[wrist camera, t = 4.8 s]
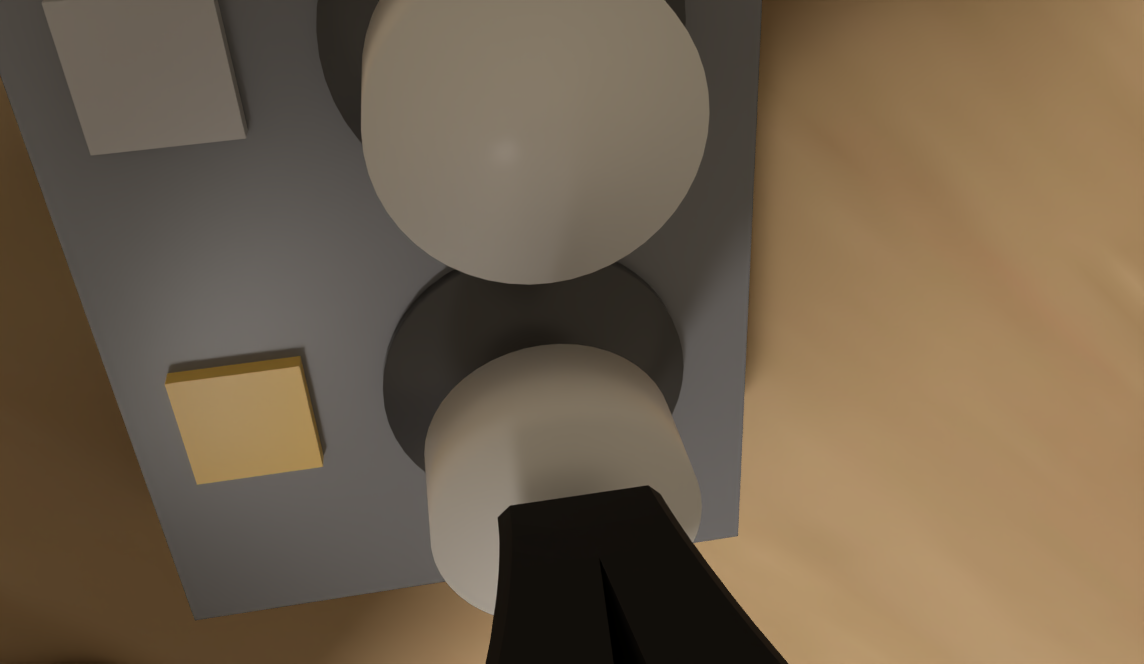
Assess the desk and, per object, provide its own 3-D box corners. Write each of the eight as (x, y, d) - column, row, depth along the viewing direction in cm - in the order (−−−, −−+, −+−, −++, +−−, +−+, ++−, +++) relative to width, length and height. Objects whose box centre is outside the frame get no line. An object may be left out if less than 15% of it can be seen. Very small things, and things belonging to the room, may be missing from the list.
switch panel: (213, 512, 15) (193, 633, 13) (-202, -792, 8) (-370, -921, 6) (699, 441, 16) (742, 546, 14) (719, -812, 9) (815, -931, 7)
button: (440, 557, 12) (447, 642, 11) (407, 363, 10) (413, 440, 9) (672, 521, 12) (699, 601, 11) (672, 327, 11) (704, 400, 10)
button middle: (386, 235, 10) (389, 303, 9) (335, -70, 8) (332, -28, 7) (672, 199, 10) (705, 262, 9) (671, -101, 8) (712, -65, 7)
